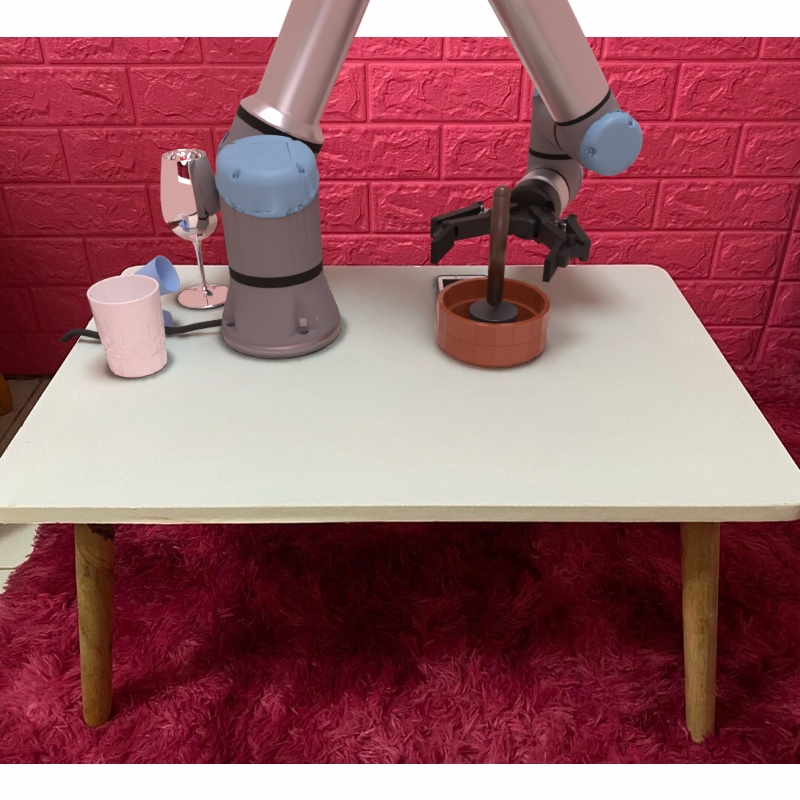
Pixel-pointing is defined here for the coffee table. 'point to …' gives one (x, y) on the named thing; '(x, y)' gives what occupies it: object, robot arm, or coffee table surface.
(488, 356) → the bowl
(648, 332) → the coffee table surface
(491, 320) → the peg on round base
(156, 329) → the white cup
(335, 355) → the coffee table surface
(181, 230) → the wineglass
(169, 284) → the spotlight
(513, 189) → the robot arm
